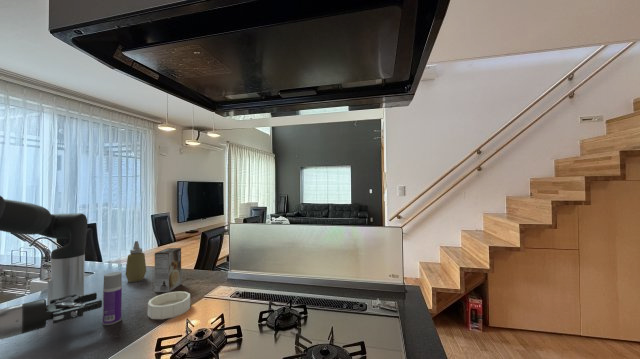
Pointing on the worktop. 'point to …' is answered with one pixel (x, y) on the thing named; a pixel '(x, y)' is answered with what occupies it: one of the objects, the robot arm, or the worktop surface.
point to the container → (112, 298)
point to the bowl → (168, 305)
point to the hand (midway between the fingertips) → (99, 299)
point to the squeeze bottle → (136, 264)
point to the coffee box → (167, 269)
